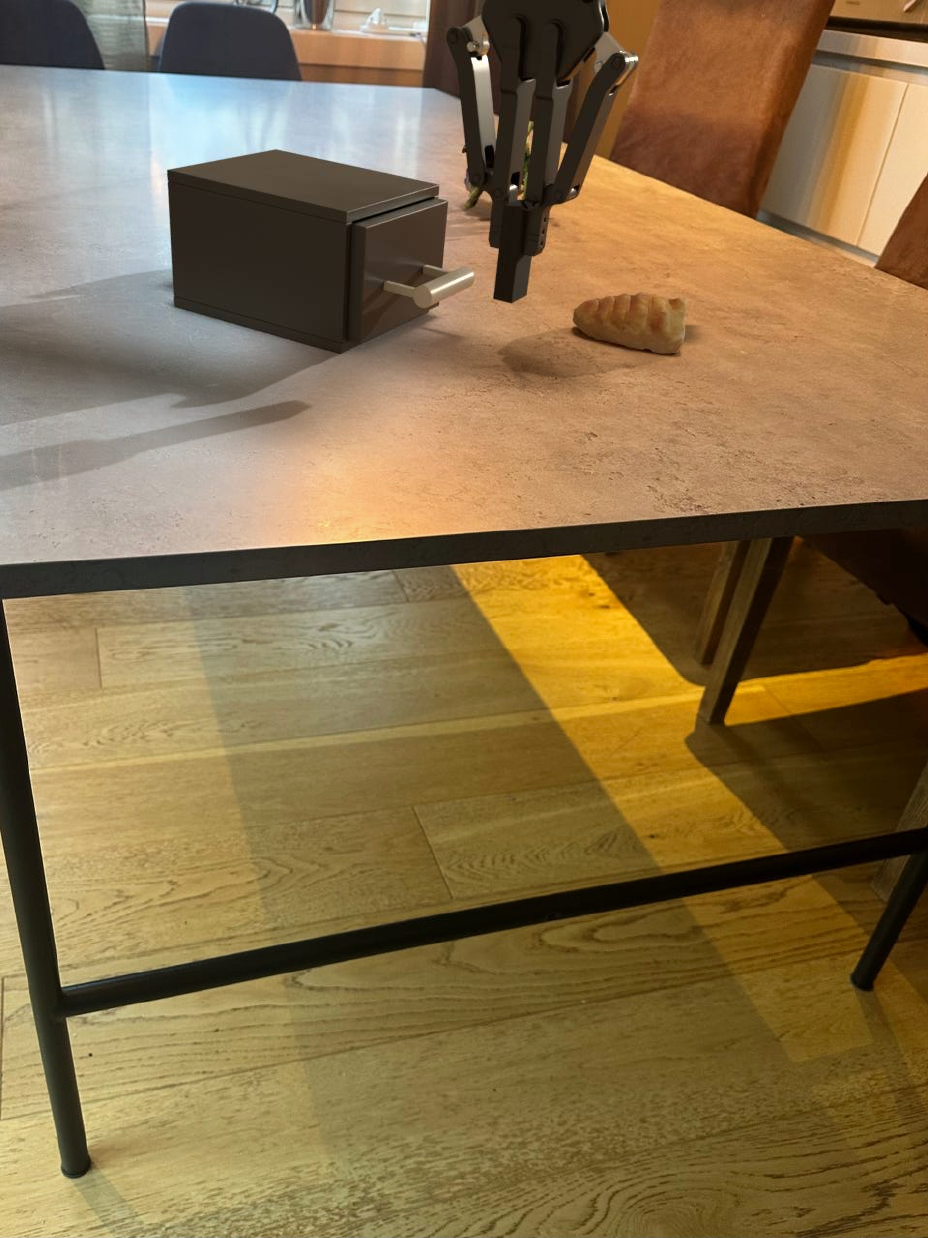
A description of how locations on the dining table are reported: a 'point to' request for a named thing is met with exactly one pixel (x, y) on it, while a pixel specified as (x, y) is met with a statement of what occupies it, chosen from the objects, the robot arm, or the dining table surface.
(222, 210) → the cabinet
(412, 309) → the drawer
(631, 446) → the dining table surface
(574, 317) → the pastry
